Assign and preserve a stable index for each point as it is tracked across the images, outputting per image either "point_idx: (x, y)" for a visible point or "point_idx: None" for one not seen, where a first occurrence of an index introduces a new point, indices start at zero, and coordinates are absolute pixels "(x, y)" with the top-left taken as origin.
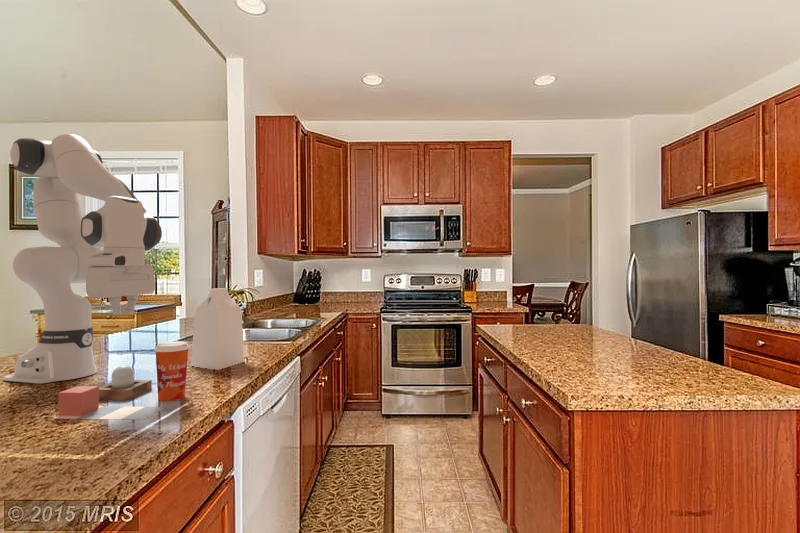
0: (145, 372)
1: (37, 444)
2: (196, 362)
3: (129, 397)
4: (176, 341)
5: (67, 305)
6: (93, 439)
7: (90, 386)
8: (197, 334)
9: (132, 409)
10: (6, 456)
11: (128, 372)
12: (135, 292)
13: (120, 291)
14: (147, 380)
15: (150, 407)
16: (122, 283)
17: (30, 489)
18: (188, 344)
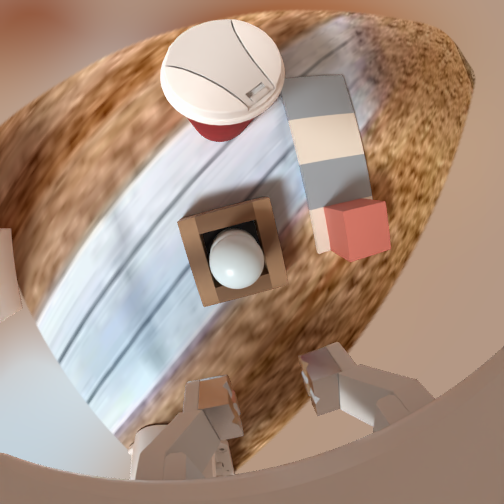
0: (88, 362)
1: (429, 164)
2: (12, 296)
3: (260, 198)
4: (170, 85)
5: None
6: (402, 104)
7: (347, 230)
8: None
9: (310, 133)
10: (450, 167)
11: (242, 238)
12: (204, 496)
13: (476, 413)
14: (183, 230)
15: (289, 107)
16: (496, 496)
17: (464, 83)
18: (183, 33)
